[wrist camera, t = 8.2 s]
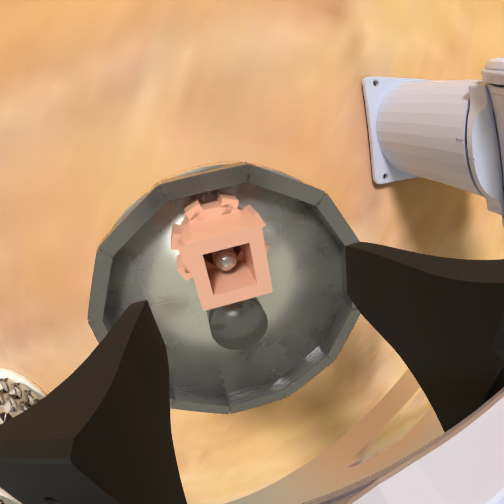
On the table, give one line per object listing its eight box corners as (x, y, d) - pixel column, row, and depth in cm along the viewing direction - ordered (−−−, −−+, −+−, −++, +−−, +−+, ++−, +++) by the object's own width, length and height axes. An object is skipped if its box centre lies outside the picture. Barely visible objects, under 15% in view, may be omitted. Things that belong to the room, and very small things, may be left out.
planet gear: (251, 183, 19) (277, 201, 14) (265, 264, 21) (291, 301, 16) (162, 205, 18) (158, 230, 13) (184, 285, 20) (190, 330, 16)
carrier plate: (337, 141, 20) (382, 146, 15) (347, 352, 28) (375, 388, 23) (58, 206, 17) (26, 230, 13) (150, 409, 25) (152, 454, 20)
